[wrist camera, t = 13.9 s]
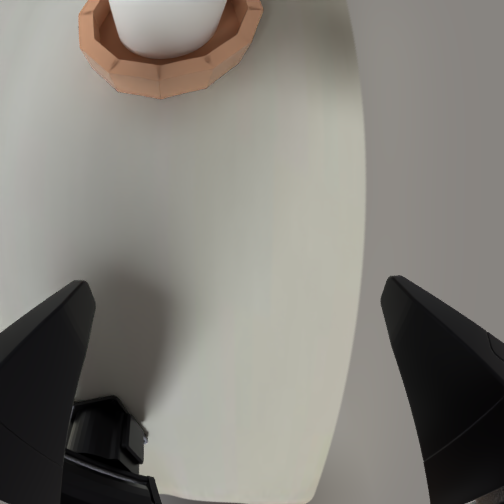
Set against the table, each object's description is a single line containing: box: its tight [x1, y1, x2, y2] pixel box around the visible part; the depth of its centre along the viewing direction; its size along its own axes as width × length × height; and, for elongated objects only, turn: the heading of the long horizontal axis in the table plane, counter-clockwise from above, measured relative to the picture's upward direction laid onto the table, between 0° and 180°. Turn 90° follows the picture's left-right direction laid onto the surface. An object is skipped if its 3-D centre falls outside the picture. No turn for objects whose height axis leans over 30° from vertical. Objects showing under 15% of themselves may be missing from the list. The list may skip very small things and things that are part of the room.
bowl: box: [79, 0, 263, 99], centre depth 13 cm, size 12×12×4 cm
